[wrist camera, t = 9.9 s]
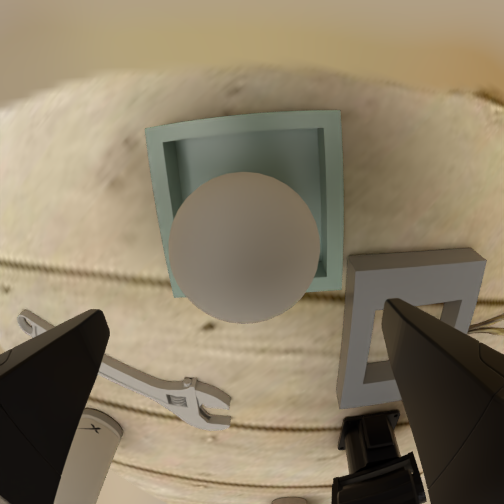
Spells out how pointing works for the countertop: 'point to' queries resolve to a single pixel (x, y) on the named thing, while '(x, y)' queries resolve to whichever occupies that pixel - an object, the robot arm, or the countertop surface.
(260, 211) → the lightbulb
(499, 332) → the tongs
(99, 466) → the travel mug
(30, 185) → the countertop surface
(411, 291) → the socket board
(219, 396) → the adjustable wrench
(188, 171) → the parts tray
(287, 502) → the coffee cup
